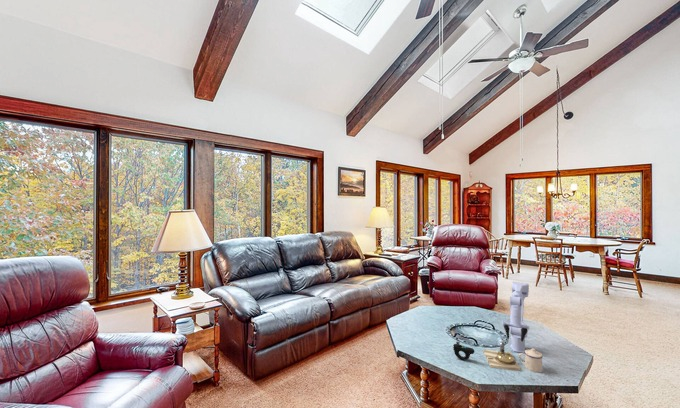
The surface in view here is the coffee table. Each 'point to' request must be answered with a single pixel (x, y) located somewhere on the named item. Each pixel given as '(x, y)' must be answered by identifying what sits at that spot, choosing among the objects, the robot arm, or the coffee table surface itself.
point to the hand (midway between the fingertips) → (515, 339)
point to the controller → (464, 349)
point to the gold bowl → (504, 355)
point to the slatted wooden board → (495, 363)
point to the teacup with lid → (532, 360)
